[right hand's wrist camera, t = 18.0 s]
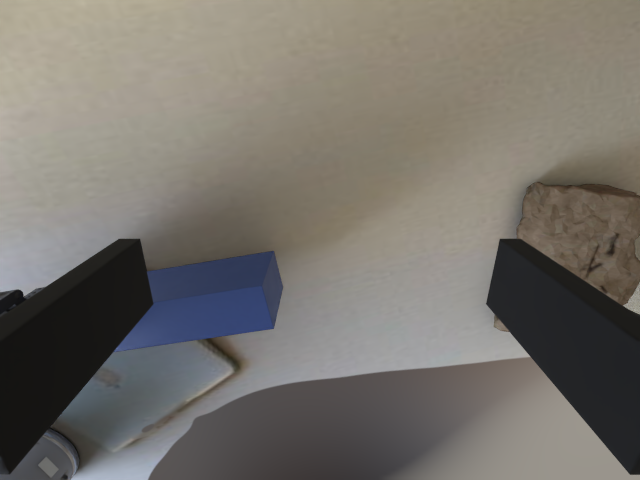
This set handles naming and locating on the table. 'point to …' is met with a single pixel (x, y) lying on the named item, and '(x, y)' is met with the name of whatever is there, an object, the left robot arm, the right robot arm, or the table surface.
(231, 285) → the bar
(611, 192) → the stone
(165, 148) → the table surface
